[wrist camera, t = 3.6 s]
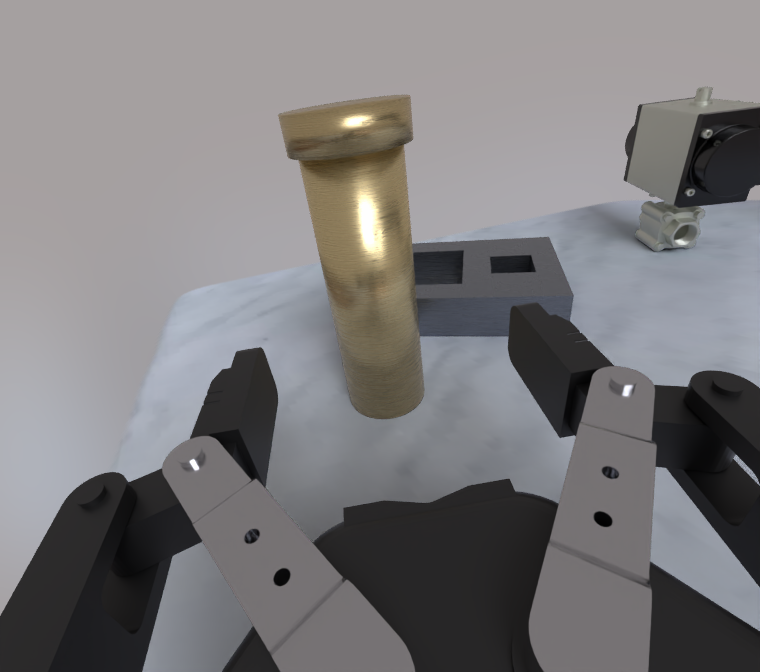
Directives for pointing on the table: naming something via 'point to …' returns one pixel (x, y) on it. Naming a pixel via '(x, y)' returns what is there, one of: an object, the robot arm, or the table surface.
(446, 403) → the table surface
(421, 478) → the table surface
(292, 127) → the brass headed pin
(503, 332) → the plate
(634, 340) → the table surface
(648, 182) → the pneumatic valve
